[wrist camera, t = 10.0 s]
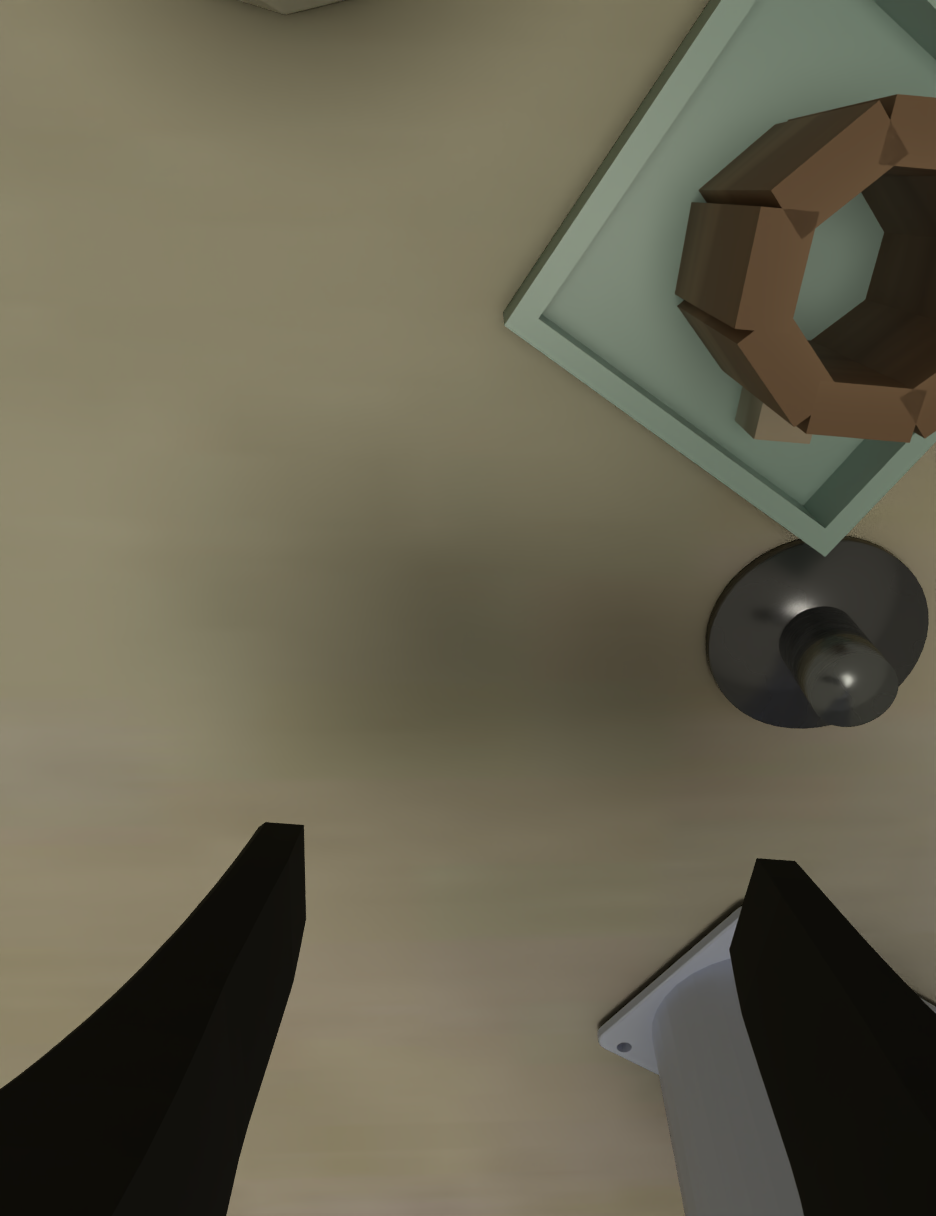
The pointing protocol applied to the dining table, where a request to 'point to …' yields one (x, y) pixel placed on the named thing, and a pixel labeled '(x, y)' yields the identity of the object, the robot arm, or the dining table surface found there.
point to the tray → (655, 232)
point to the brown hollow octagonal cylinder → (775, 264)
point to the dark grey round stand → (817, 634)
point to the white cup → (289, 4)
